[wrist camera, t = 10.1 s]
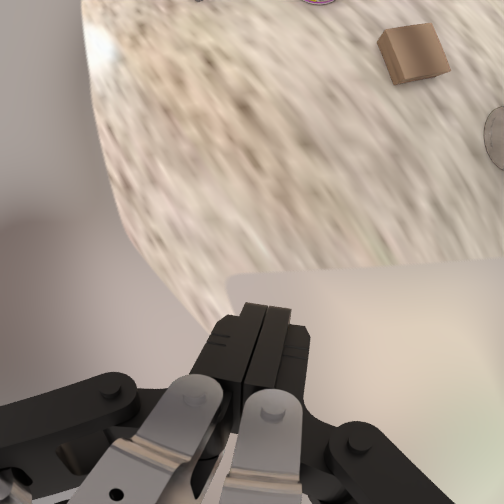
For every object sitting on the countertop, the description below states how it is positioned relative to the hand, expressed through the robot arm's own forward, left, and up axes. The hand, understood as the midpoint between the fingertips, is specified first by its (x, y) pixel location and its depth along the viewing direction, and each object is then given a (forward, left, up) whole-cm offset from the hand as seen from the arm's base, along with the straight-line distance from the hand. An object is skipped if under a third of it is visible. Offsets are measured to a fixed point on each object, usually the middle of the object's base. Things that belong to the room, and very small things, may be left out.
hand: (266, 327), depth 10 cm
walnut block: (-11, -17, -32) cm, 38 cm away
